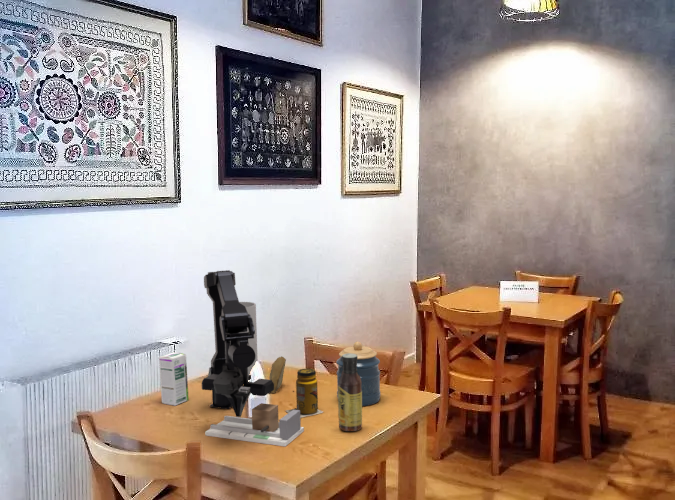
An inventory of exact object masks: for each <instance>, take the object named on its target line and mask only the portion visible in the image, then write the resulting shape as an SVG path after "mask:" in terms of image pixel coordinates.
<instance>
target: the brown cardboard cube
mask: <svg viewBox="0 0 675 500" xmlns="http://www.w3.org/2000/svg"><path fill="white" fill-rule="evenodd" d="M251 419H252V429H253V430H261V432H264V431H268V432H274V431H275V430H276V429H278V428H279V420H280V419H279V405H278V404H270V403H262V402H261V403H259V404H258V405H256V406H254V407H253V408H251Z"/></svg>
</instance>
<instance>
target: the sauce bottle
mask: <svg viewBox="0 0 675 500" xmlns="http://www.w3.org/2000/svg"><path fill="white" fill-rule="evenodd" d="M357 360H358V359H357V355H356V354H352V353H348V354H344V355H342V361H343V370H342V374H341V377H340V380H339V383H338V388H337V391H338V397H337V400H338V402H337V407H338V411H337V412H338V427H339V429H340V430H342V431H343V432H357V431H360V430H361V429H362V426H363V406H362V389H361V378H360V376H359V375H358V373H357Z"/></svg>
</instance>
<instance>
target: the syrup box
mask: <svg viewBox="0 0 675 500" xmlns="http://www.w3.org/2000/svg"><path fill="white" fill-rule="evenodd" d="M158 359H159V360H158V361H159V363H158V364H159V375H160V376H159V377H160V379H159V380H160V390H161V391H160V392H161V393H160V394H161V404H165V405H169V406H174V407H175V406H177V405H180V404H182V403H185V402H188V401H189V386H188V385H189V383H188V366H187V354H186V353H183V352H171V353H167V354H165V355H161V356H159V357H158Z"/></svg>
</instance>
